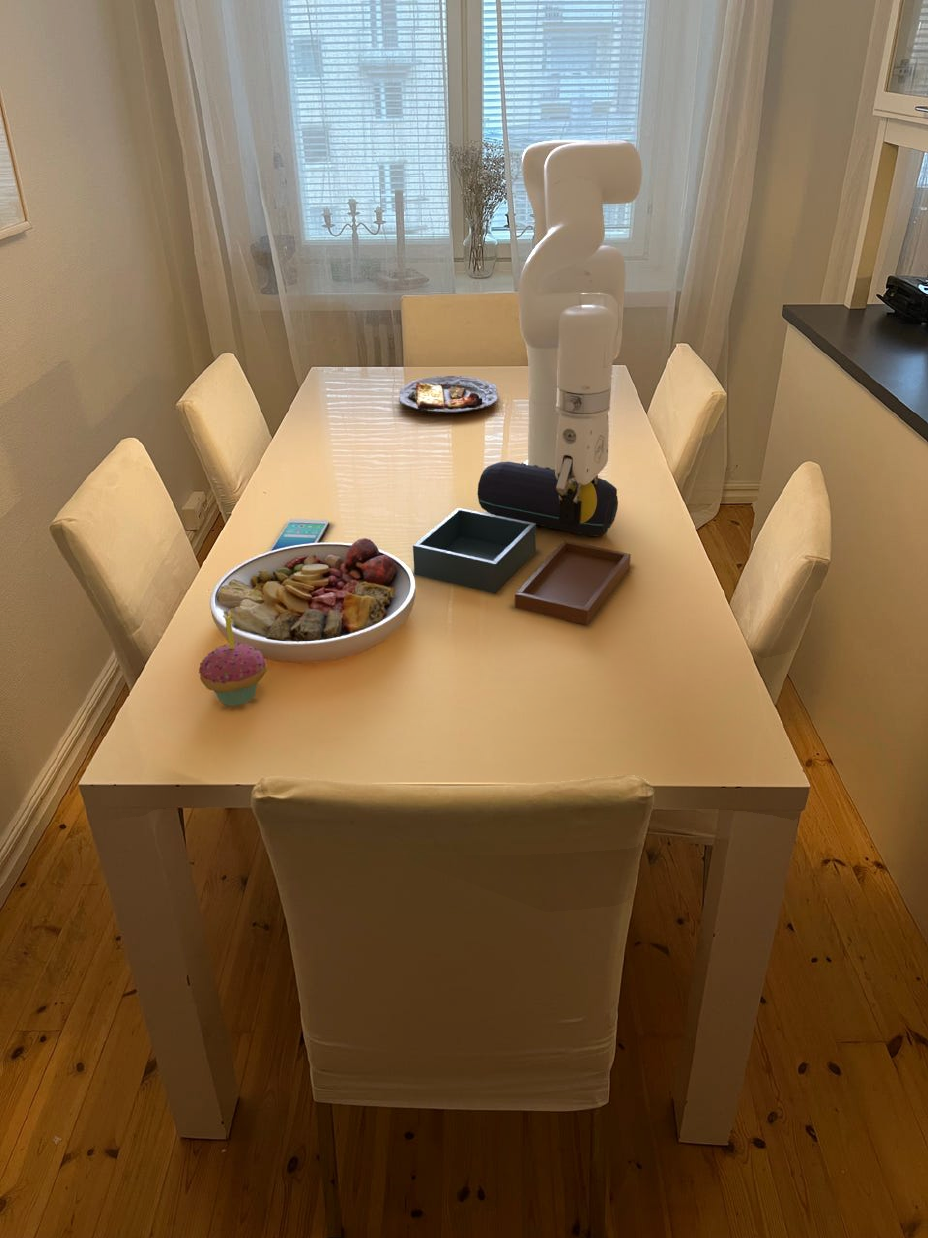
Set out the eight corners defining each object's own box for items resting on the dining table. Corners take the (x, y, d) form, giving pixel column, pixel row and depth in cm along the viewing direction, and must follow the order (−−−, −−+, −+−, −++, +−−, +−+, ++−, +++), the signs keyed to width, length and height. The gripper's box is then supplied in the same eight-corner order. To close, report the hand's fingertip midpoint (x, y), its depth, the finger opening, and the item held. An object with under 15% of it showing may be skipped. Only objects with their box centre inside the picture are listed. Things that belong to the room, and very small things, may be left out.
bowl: (332, 699, 122) (326, 649, 118) (171, 636, 136) (161, 589, 132) (454, 598, 143) (453, 553, 139) (305, 553, 157) (300, 511, 153)
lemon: (593, 534, 137) (596, 484, 133) (556, 531, 138) (558, 482, 134) (596, 518, 142) (599, 469, 138) (560, 516, 143) (562, 467, 139)
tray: (563, 553, 156) (563, 539, 154) (629, 567, 151) (630, 553, 150) (514, 607, 141) (514, 593, 139) (586, 625, 136) (587, 610, 135)
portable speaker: (624, 526, 164) (628, 473, 158) (604, 549, 156) (607, 495, 151) (497, 500, 174) (497, 449, 169) (472, 521, 167) (471, 469, 161)
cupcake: (210, 679, 126) (195, 603, 120) (273, 675, 127) (262, 599, 121) (200, 717, 119) (184, 639, 113) (267, 713, 120) (254, 635, 113)
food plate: (498, 419, 211) (498, 404, 209) (396, 420, 212) (395, 405, 210) (496, 384, 232) (496, 371, 231) (403, 386, 233) (403, 372, 231)
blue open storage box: (458, 535, 162) (457, 507, 159) (535, 551, 156) (536, 523, 153) (414, 574, 150) (412, 545, 147) (495, 594, 144) (495, 564, 142)
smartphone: (330, 519, 166) (307, 559, 153) (330, 524, 166) (308, 563, 154) (289, 518, 167) (264, 557, 154) (290, 522, 167) (264, 561, 155)
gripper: (586, 421, 122) (580, 544, 131) (628, 384, 135) (620, 498, 144) (534, 413, 125) (531, 534, 134) (580, 378, 138) (574, 490, 147)
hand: (577, 514), depth 139 cm, fingers closed on lemon, 5 cm apart
